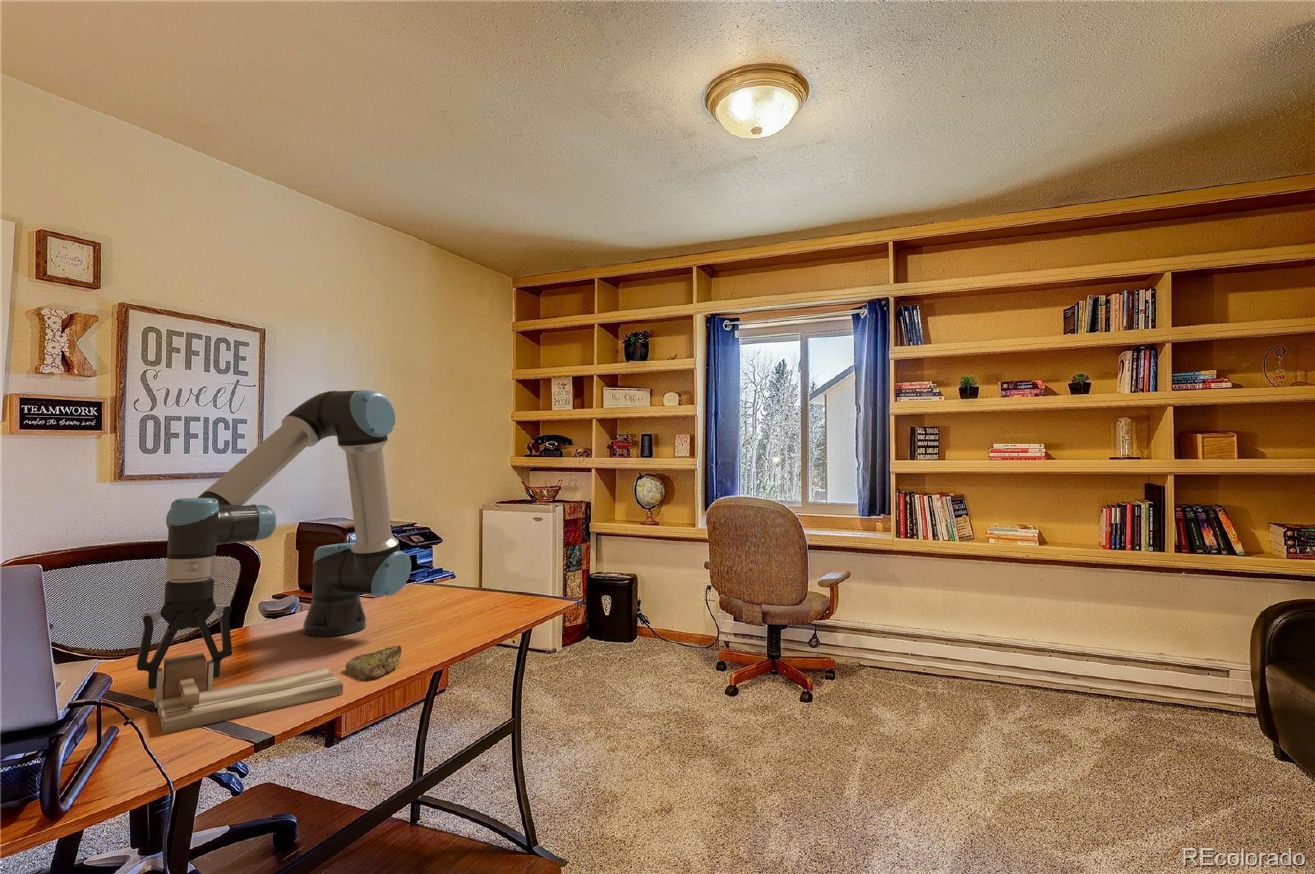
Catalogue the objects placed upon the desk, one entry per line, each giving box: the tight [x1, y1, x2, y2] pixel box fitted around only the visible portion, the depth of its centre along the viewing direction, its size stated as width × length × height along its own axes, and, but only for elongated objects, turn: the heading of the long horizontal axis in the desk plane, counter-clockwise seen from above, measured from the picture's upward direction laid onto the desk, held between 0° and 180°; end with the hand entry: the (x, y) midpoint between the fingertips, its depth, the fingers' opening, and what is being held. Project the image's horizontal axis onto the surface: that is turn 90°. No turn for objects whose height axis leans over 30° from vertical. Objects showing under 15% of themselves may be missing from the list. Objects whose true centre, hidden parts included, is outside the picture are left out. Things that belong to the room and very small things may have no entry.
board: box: [157, 667, 344, 735], centre depth 118 cm, size 12×28×2 cm, turn 133°
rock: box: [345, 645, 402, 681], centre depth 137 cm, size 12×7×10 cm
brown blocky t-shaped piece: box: [161, 652, 207, 708], centre depth 114 cm, size 15×6×8 cm, turn 43°
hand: (183, 700), depth 118 cm, fingers open, 7 cm apart
